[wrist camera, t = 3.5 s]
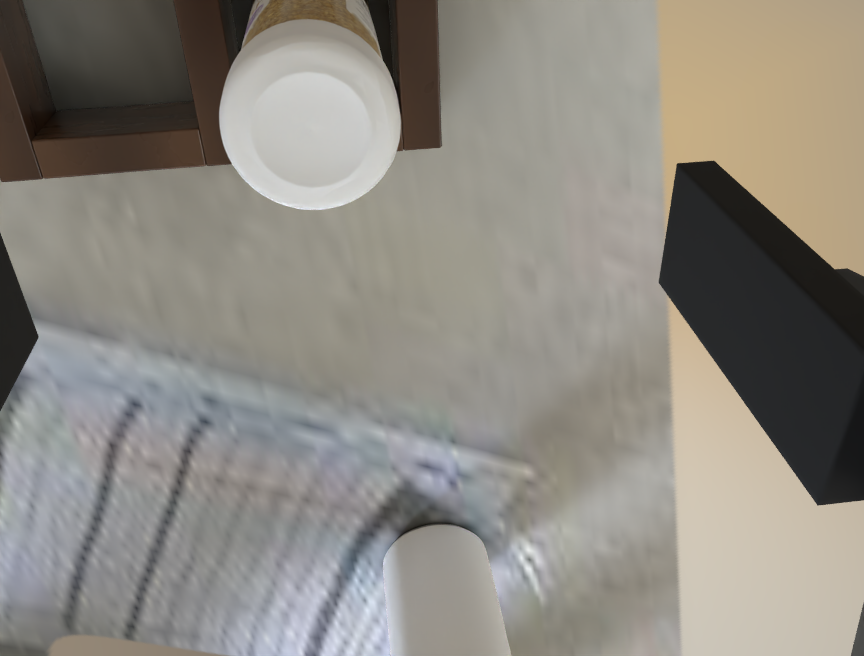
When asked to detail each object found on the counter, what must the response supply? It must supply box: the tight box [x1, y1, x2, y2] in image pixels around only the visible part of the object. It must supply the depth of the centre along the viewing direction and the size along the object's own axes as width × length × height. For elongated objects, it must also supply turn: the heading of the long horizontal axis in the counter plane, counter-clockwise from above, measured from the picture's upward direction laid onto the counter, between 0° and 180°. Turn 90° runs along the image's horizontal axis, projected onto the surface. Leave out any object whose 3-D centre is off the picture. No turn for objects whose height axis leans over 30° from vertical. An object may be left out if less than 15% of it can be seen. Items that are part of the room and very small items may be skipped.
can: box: [383, 523, 511, 656], centre depth 44 cm, size 6×6×12 cm
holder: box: [0, 0, 442, 182], centre depth 29 cm, size 16×9×4 cm, turn 92°
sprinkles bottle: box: [219, 0, 401, 210], centre depth 25 cm, size 5×5×14 cm
